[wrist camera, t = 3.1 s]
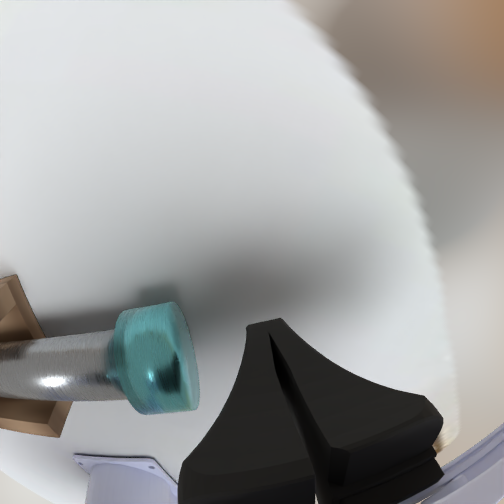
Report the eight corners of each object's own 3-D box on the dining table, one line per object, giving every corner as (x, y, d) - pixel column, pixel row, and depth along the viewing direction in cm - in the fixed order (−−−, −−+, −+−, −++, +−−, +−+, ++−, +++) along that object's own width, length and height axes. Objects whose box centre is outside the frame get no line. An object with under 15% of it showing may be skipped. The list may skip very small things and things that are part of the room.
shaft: (173, 282, 12) (159, 348, 8) (199, 360, 14) (200, 431, 10) (-31, 319, 11) (-66, 359, 7) (1, 375, 13) (-25, 418, 9)
